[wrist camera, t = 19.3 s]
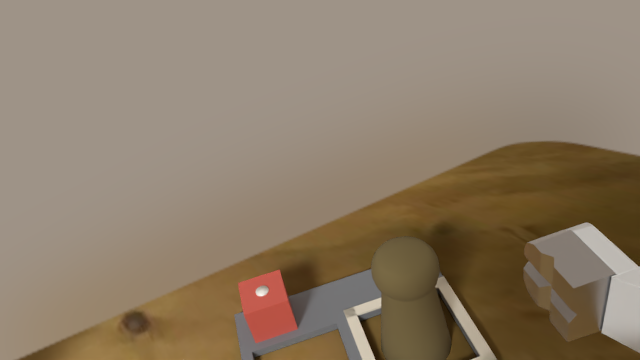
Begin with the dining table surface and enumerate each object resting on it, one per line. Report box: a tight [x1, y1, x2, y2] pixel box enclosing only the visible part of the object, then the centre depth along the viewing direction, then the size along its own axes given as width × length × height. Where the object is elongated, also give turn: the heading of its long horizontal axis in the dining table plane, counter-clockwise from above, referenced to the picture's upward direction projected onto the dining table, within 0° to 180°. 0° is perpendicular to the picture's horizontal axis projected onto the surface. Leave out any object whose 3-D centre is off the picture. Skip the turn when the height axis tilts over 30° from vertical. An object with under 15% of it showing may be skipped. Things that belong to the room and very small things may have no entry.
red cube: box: [238, 270, 298, 343], centre depth 49 cm, size 4×4×4 cm
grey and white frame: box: [235, 269, 497, 360], centre depth 47 cm, size 20×16×1 cm
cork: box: [371, 236, 451, 360], centre depth 43 cm, size 6×6×11 cm
